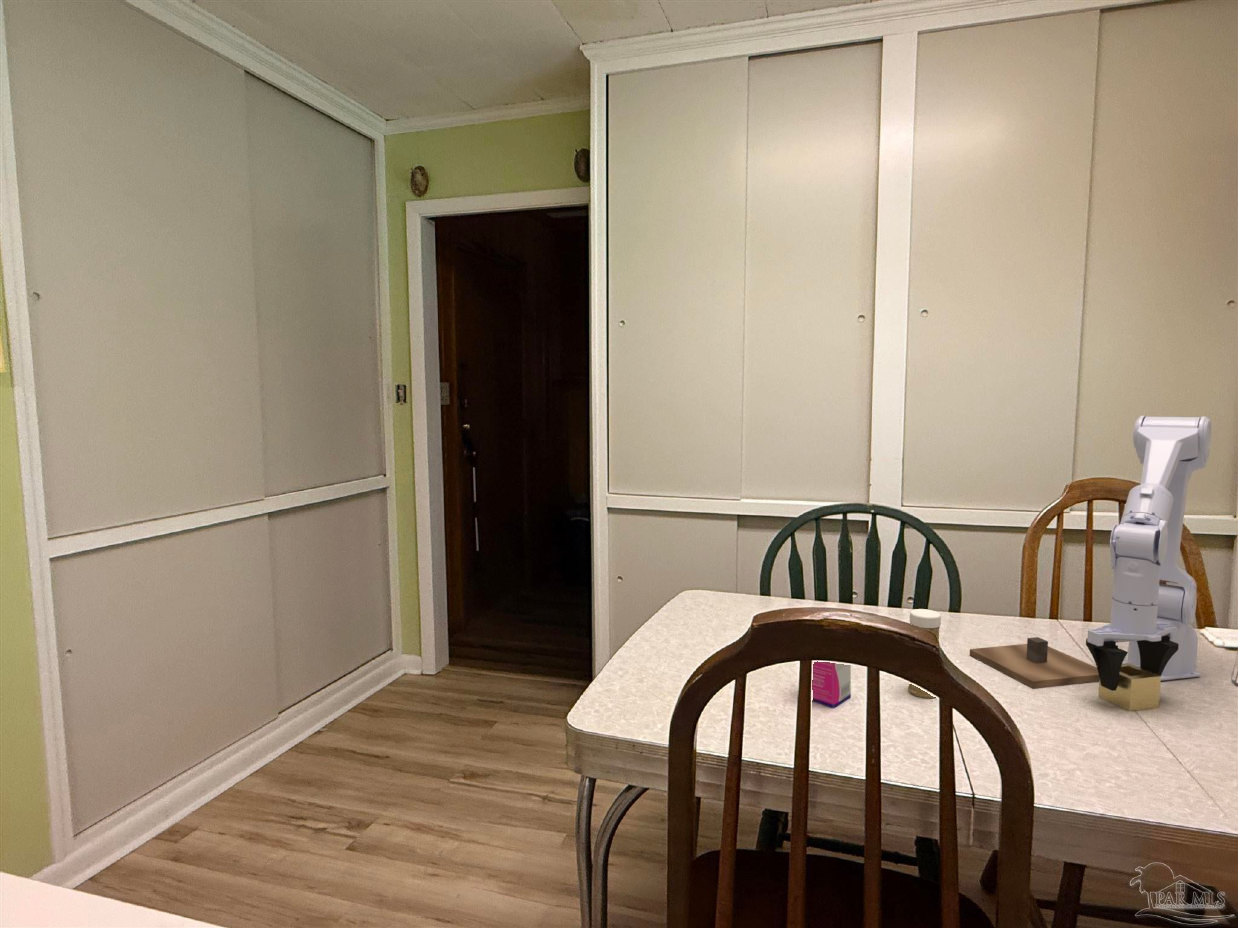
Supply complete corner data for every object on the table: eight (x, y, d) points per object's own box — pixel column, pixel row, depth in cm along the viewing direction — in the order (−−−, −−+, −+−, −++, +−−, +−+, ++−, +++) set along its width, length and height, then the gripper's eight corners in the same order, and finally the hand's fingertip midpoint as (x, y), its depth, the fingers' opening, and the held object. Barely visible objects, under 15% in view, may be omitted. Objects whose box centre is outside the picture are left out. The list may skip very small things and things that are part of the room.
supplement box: (818, 686, 116) (819, 619, 115) (851, 697, 112) (853, 627, 111) (799, 697, 112) (800, 628, 111) (833, 708, 108) (835, 637, 107)
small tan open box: (1126, 692, 113) (1128, 662, 112) (1158, 707, 107) (1160, 676, 107) (1098, 696, 111) (1100, 665, 111) (1129, 711, 106) (1131, 679, 106)
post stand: (1039, 648, 132) (1040, 622, 132) (1109, 680, 118) (1111, 651, 117) (969, 655, 129) (970, 629, 129) (1032, 688, 115) (1034, 658, 114)
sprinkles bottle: (943, 694, 113) (947, 613, 111) (927, 701, 110) (930, 618, 109) (918, 684, 116) (920, 606, 115) (901, 691, 114) (903, 611, 113)
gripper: (1118, 611, 102) (1112, 700, 104) (1199, 605, 105) (1192, 691, 107) (1078, 598, 109) (1073, 681, 111) (1154, 592, 112) (1148, 674, 113)
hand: (1128, 685), depth 109 cm, fingers open, 7 cm apart
